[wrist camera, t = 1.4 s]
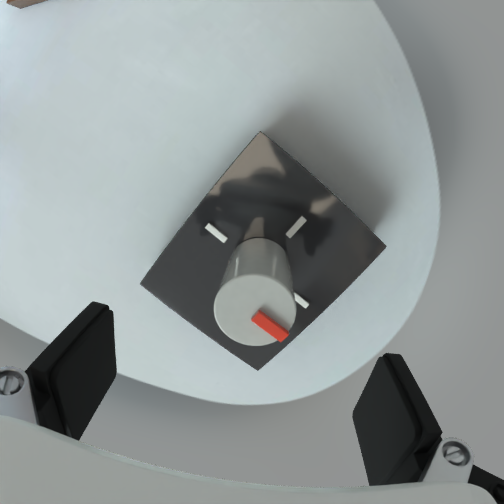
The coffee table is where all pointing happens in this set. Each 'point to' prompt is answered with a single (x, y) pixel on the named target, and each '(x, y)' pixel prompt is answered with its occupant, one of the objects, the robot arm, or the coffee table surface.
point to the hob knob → (256, 294)
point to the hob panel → (268, 227)
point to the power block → (23, 2)
